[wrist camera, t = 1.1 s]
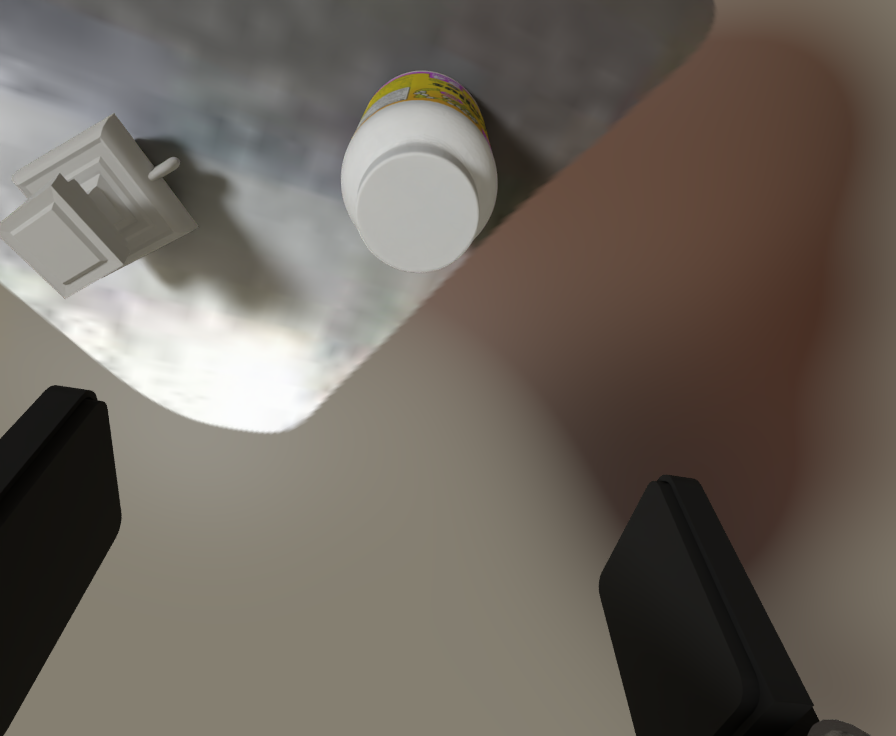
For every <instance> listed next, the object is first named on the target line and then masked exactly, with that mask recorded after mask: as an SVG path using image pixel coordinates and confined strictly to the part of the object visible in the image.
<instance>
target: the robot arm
mask: <svg viewBox="0 0 896 736" xmlns="http://www.w3.org/2000/svg"><path fill="white" fill-rule="evenodd" d="M120 524H121V507H120V499H119V492H118V484H117V477H116V469H115V461H114V454H113V446H112V439H111V431H110V424H109V416H108V409H107V405H106V403H105V402H103V401H98V400H97V397H96V394H95V393H94V392H93V391H90V390H84V389H78V388H71V387H63V386H57V385H54V386H50V387H49V388H48V389H47V390H45V391H44V392H43V393H42V395H41V396H40V397H39V398H38V399H37V400H36V401H35V402H34V403H33V404H32V406H30V407H29V409H28V410H27V411H26V412H25V413H24V414H23V415H22V416H21V417H20V418H19V419H18V420H17V422H16V423H15V424H14V425H13V426H12V427H11V428H10V429H9V430H8V431H7V432H6V433H5V434H4V435H3V437H2V438H1V439H0V736H3V735H4V734H5V732H6V731H7V729H8V728H9V726H10V724H11V722H12V720H13V719H14V717H15V715H16V713H17V712H18V710H19V708H20V706H21V704H22V703H23V701H24V699H25V697H26V696H27V694H28V692H29V690H30V689H31V687H32V685H33V683H34V682H35V680H36V678H37V676H38V674H39V673H40V671H41V669H42V667H43V666H44V664H45V662H46V660H47V659H48V657H49V655H50V653H51V651H52V650H53V648H54V646H55V644H56V643H57V641H58V639H59V637H60V636H61V634H62V632H63V630H64V628H65V627H66V625H67V623H68V621H69V620H70V618H71V616H72V614H73V613H74V611H75V609H76V607H77V606H78V604H79V602H80V600H81V598H82V597H83V594H84V593H85V591H86V589H87V588H88V586H89V584H90V583H91V581H92V579H93V577H94V575H95V574H96V571H97V570H98V568H99V567H100V565H101V563H102V561H103V559H104V558H105V556H106V554H107V552H108V551H109V549H110V547H111V545H112V543H113V542H114V540H115V538H116V536H117V534H118V531H119V529H120ZM599 594H600V598H601V602H602V606H603V610H604V613H605V617H606V621H607V625H608V629H609V632H610V637H611V640H612V644H613V648H614V652H615V656H616V660H617V664H618V667H619V671H620V675H621V679H622V683H623V686H624V690H625V694H626V698H627V702H628V706H629V710H630V713H631V717H632V721H633V725H634V729H635V733H636V736H870V735H869V734H868V733H866V732H864V731H862V730H861V729H859V728H857V727H856V726H854V725H852V724H849V723H845V722H843V721H839V720H822V721H819V719H818V717H817V715H816V713H815V711H814V709H813V706H814V704H813V703H812V701H811V699H810V697H809V695H808V693H807V691H806V689H805V687H804V685H803V683H802V681H801V679H800V677H799V675H798V673H797V671H796V669H795V668H794V666H793V664H792V662H791V660H790V658H789V656H788V654H787V652H786V650H785V648H784V646H783V644H782V642H781V640H780V638H779V637H778V634H777V632H776V630H775V628H774V626H773V625H772V623H771V621H770V619H769V617H768V615H767V613H766V611H765V609H764V607H763V605H762V603H761V601H760V599H759V597H758V595H757V593H756V591H755V590H754V587H753V585H752V584H751V582H750V580H749V578H748V576H747V574H746V572H745V570H744V568H743V566H742V564H741V562H740V560H739V558H738V556H737V554H736V552H735V550H734V548H733V546H732V545H731V543H730V541H729V539H728V537H727V535H726V533H725V531H724V529H723V527H722V525H721V523H720V521H719V519H718V517H717V515H716V513H715V511H714V509H713V508H712V505H711V503H710V502H709V500H708V498H707V496H706V494H705V492H704V490H703V488H702V486H701V484H700V483H699V482H698V481H697V480H695V479H692V478H686V477H679V476H672V475H662V476H661V477H660V478H659V479H658V480H657V481H652V482H650V483H649V485H648V486H647V488H646V490H645V492H644V494H643V495H642V497H641V499H640V501H639V503H638V505H637V507H636V509H635V511H634V513H633V514H632V516H631V518H630V520H629V522H628V524H627V526H626V528H625V529H624V531H623V533H622V535H621V537H620V539H619V541H618V543H617V545H616V547H615V548H614V550H613V552H612V554H611V556H610V558H609V560H608V562H607V563H606V565H605V568H604V569H603V571H602V573H601V576H600V580H599Z"/></svg>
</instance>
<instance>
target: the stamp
mask: <svg viewBox="0 0 896 736" xmlns="http://www.w3.org/2000/svg"><path fill="white" fill-rule="evenodd" d="M179 166H180V160H179V159H178V158H176V157H171V158H169V159H167V160H166V161H164V162H163V163H162V164H160V165H157V166H155V167H154V166H153V165H152V163H151V162H150V161H149V159H148V158H147V157H146V155H145V154H144V153H143V151H142V150H141V149H140V147H139V146H138V144H137V143H136V142H135V140H134V139H133V138H132V136H131V135H130V134H129V132H128V131H127V130H126V128H125V127H124V126H123V124H122V123H121V122H120V120H119V119H118V118H117V117H116V115H115V114H114V113H113V114H112V115H110V116H108V117H107V118H105V119H103V120H102V121H100V122H98V123H97V124H95V125H93V126H92V127H90V128H88V129H87V130H85V131H83V132H82V133H80V134H78V135H77V136H75V137H73V138H71V139H70V140H68V141H66V142H65V143H63V144H61V145H60V146H58V147H56V148H55V149H53V150H51V151H50V152H48V153H46V154H45V155H43V156H41V157H40V158H38V159H36V160H35V161H33V162H31V163H30V164H28V165H26V166H25V167H23V168H21V169H20V170H18V171H16V173H14V174H13V175H12V181H13V182H14V184H15V185H16V186H17V187H18V188H19V189H20V190H21V191H22V192H23V194H24V195H25V196H26V197H27V198H28V200H27V201H26V202H24V203H23V204H22V205H21V206H20V207H18V208H17V209H16V210H15V211H14V212H13V213H11V214H10V215H9V216H8V217H6V218H5V219H4V220H2V221H1V222H0V238H1V239H2V240H3V241H4V242H5V243H6V244H8V245H9V246H10V247H11V248H12V249H13V250H14V251H15V252H16V253H17V254H18V255H19V256H20V257H21V258H22V259H23V260H24V261H25V262H26V263H28V264H29V265H30V266H31V267H32V268H33V269H34V270H35V271H36V272H37V273H38V274H39V275H40V276H41V277H42V278H43V279H44V280H45V281H46V282H47V283H49V284H50V285H51V286H52V287H53V288H54V289H55V290H56V291H57V292H58V293H59V294H60V295H61V296H62V297H63V298H64V299H66V298H68V297H70V296H71V295H73V294H75V293H76V292H78V291H80V290H82V289H83V288H85V287H87V286H88V285H90V284H92V283H94V282H95V281H97V280H99V279H100V278H103V277H105V276H107V275H109V274H111V273H113V272H115V271H116V270H118V269H120V268H122V267H124V266H126V265H128V264H130V263H132V262H134V261H136V260H138V259H140V258H142V257H143V256H145V255H147V254H149V253H151V252H153V251H155V250H157V249H159V248H161V247H163V246H165V245H167V244H169V243H170V242H172V241H174V240H176V239H178V238H180V237H182V236H184V235H186V234H188V233H190V232H192V231H194V230H195V229H196V228H198V227H199V226H198V225H197V223H196V222H195V221H194V219H193V218H192V217H191V215H190V214H189V213H188V211H187V210H186V209H185V207H184V206H183V205H182V203H181V202H180V201H179V199H178V198H177V197H176V195H175V194H174V193H173V191H172V190H171V189H170V187H169V186H168V185H167V183H166V182H165V181H164V179H163V178H162V177H164V176H166V175H167V174H169V173H171V172H172V171H174V170H176V169H177V168H178V167H179Z"/></svg>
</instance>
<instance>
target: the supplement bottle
mask: <svg viewBox="0 0 896 736" xmlns="http://www.w3.org/2000/svg"><path fill="white" fill-rule="evenodd" d="M341 188H342V196H343V200H344V204H345V206H346V209H347V212H348V214H349V216H350V218H351V220H352V222H353V223H354V225H355V226H356V228H357V229H358V230H359V233H360V235H361V238H362V239H363V241H364V243H365V244H366V246H367V247H368V249H369V250H370V251H371V252H372V253H373V254H374V255H375V256H376V257H377V258H378V259H380V260H381V261H382V262H384V263H385V264H387V265H389V266H391V267H393V268H395V269H398V270H402V271H406V272H411V273H424V272H432V271H435V270H439V269H442V268H444V267H446V266H448V265H450V264H452V263H453V262H454V261H456V260H457V259H458V258H459V257H461V256H462V255H463V254H464V253H465V251H466V250H467V249H468V248H469V246H470V245H471V243H472V241H473V240H474V239H475V238H476V237H477V236H478V235H479V234H480V232H481V231H482V230H483V228H484V227H485V225H486V224H487V222H488V220H489V218H490V216H491V214H492V211H493V209H494V206H495V202H496V197H497V189H498V177H497V169H496V164H495V160H494V157H493V153H492V150H491V146H490V142H489V138H488V135H487V131H486V127H485V124H484V120H483V117H482V114H481V112H480V109H479V107H478V105H477V103H476V102H475V100H474V98H473V97H472V96H471V94H470V93H469V92H468V91H467V90H466V89H465V88H464V87H463V86H462V85H461V84H459V83H458V82H457V81H455V80H454V79H452V78H450V77H448V76H446V75H443V74H441V73H437V72H432V71H412V72H408V73H404V74H401V75H399V76H397V77H395V78H393V79H392V80H390V81H388V82H387V83H386V84H385V85H384V86H382V87H381V88H380V89H379V90H378V91H377V93H376V94H375V95H374V96H373V98H372V99H371V101H370V103H369V104H368V106H367V108H366V110H365V112H364V114H363V117H362V119H361V121H360V123H359V125H358V127H357V129H356V131H355V133H354V135H353V137H352V139H351V141H350V144H349V146H348V148H347V151H346V153H345V156H344V160H343V165H342V171H341Z"/></svg>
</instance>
